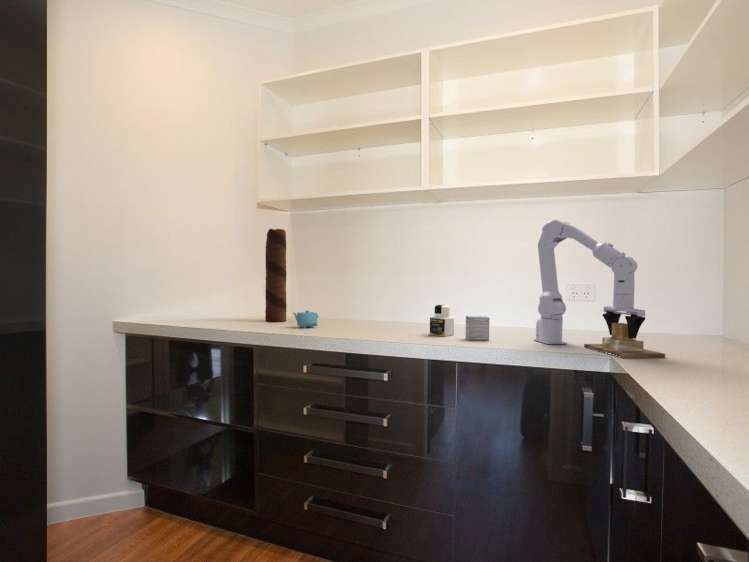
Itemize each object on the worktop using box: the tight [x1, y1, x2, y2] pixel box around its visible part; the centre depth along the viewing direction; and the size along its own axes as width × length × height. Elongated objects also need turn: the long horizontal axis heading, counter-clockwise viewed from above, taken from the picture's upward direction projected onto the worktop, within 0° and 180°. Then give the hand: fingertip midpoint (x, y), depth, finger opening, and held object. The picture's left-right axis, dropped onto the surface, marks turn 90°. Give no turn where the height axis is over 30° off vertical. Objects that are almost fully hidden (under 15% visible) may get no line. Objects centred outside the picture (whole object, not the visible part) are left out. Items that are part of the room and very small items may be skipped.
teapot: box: [292, 310, 319, 329], centre depth 178 cm, size 12×6×8 cm, turn 118°
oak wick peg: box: [611, 322, 632, 341], centre depth 130 cm, size 4×4×8 cm
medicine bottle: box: [429, 304, 455, 338], centre depth 163 cm, size 7×7×12 cm
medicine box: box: [465, 315, 490, 341], centre depth 152 cm, size 8×4×9 cm, turn 92°
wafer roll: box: [264, 228, 287, 323], centre depth 199 cm, size 10×11×45 cm
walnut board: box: [583, 336, 666, 359], centre depth 130 cm, size 18×14×4 cm
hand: (622, 336), depth 130 cm, fingers open, 7 cm apart
